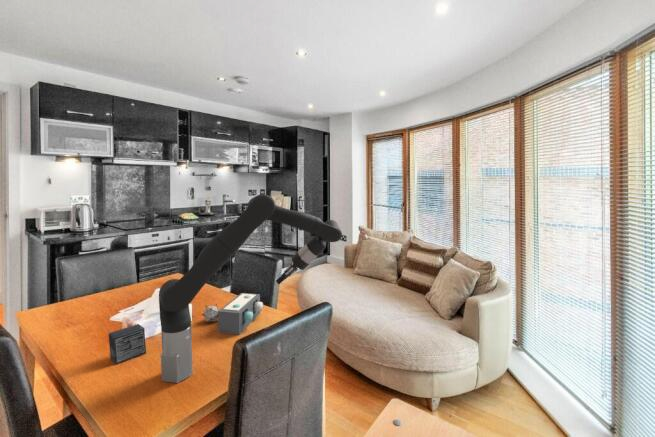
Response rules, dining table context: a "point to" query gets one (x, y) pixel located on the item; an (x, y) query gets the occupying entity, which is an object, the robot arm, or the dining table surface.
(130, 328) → the small box
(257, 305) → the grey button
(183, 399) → the dining table surface
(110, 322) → the dining table surface
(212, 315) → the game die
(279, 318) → the dining table surface
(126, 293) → the dining table surface
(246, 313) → the teal button
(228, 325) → the console
